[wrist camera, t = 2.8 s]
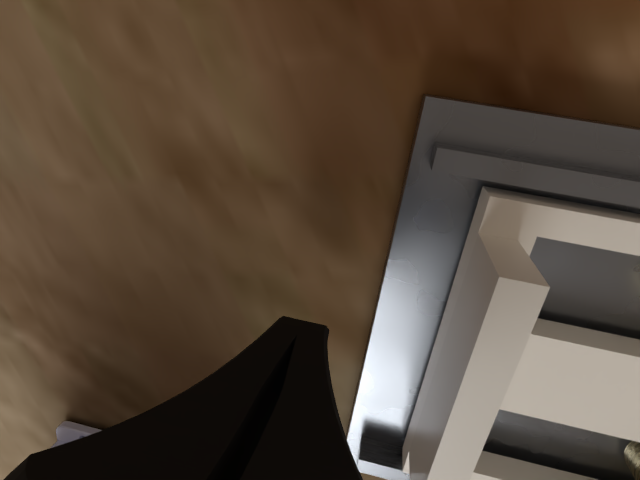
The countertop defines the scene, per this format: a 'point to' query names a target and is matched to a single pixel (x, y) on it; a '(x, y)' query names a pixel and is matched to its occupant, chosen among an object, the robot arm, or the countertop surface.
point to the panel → (520, 345)
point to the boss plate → (547, 254)
